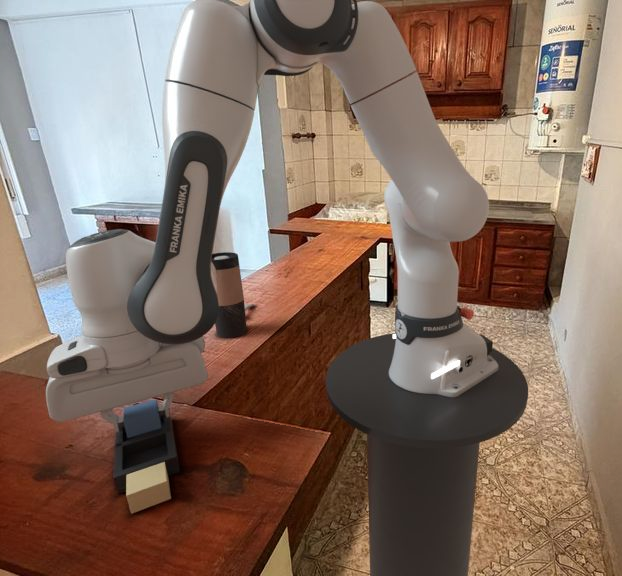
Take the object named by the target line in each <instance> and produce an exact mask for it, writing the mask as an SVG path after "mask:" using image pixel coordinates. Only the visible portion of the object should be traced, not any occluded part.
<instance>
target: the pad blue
mask: <svg viewBox="0 0 622 576" xmlns="http://www.w3.org/2000/svg"><path fill="white" fill-rule="evenodd" d="M158 405H159V404H158V400H157V399H156V398H155V399H152V400H151V399H150V400H148V401H145V402H141V403H137V404H133V405H130V406H126V407H125V406H124V407H123V415H124V426H125V430H126V434H127V437H128V438H130V437H133V436H137V435H140V434H143V433H146V432H150V431H153V430H156V429H160V428H161V420H160V417H159V413H158Z"/></svg>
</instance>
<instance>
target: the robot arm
mask: <svg viewBox="0 0 622 576" xmlns="http://www.w3.org/2000/svg"><path fill="white" fill-rule="evenodd" d="M352 1H353V3H352ZM177 24H178V25H177V28H176V31H175V34H174V36H173V40H172V44H171V48H170V51H169V56H168V59H167V65H166V71H165V78H164V84H163V92H162V103H161V104H162V105H161V126H162V127H161V128H162V144H163V156H164V189H163V195H162V202H161V208H160V213H159V220H158V227H157V232H156V238H155V241H152V240H150V239H147V238H144V237H142V236H139V235H137V234H136V233H134V232H133V231H131V230H128V229H124V228H123V229H122V228H117V229H110V230H104V231H101V232H95V233H92V234H90V235H87V236H83V237H81V238H79V239H77V240H76V241H75V242H73V243H72V244H71V245H69V247H68V248H67V250H66V253H65V267H66V274H67V279H68V285H69V289H70V294H71V297H72V302H73V304H74V306H75V308H76V309H77V310H78V312H79V314H80V317H81V335H79V336H77V337H75V338H73V339H70V340H68V341H66V342H63V343H61V344H60V345H57V346H56V347H55V348H54V349H53V350H52V351H51V353H50V355H49V357H48V359H47V362H46V372H47V374H48V376H49V378H48V381H47V384H46V388H45V400H46V406H47V410H48V411H47V412H48V415H49V418H50V419H51V420H53V421H55V422H57V423H65V422H69V421H73V420H76V419H80V418H84V417H87V416H90V415H94V414H95V415H96V414H100V417H101V419H103V420H104V421H106V422H108V423H109V424H110V425H112V426H113V428H114V432H115V433H117V432H120V431H124V430H125V426H124V414H122V415H118V414H117V413H116V412H114V409H117V408H120V407H125V406H127V405H132V404H135V403H139V402H143V401H146V400H151V399H154V398H157V397H161V396H163V402H162V403H161V404H158V413H159V417H160V419H164V418H167V417H170V414H171V412H170V413H169V410H170V407H171V405H172V403H173V401H174V399H175V395H174V393H176V392H179V391H183V390H187V389H190V388H194V387H198V386H202V385H204V384H205V383H206V381H207V380H208V378H209V374H208V370H207V366H206V362H205V360H204V357H203V354H202V353H204V350H205V347H206V345H205V338H204V336H205V335H207V333H209V332H210V331H211V330H212V329H213V327H214V326H215V322H216V320H217V317H218V313H219V303H218V296H217V271H216V268H215V266H214V264H213V263H212V261H211V258H212V254H213V253H214V252H213V251H214V245H215V239H216V232H217V227H218V221H219V215H220V209H221V205H222V201H223V197H224V194H225V192H226V189H227V186H228V184H229V182H230V180H231V178H232V176H233V174H234V173H235V171H236V168H237V166H238V165H239V162H240V160H241V157H242V156H243V154H244V151H245V148H246V146H247V144H248V139H249V136H250V133H251V131H252V126H253V121H254V117H255V111H256V107H257V98H258V93H259V89H260V85H261V82H262V79H263V77H264V76H279V77H295V76H296V77H297V76H301V75H303V74H305V73H308V72H309V71H310V70H312V69H313V67H314V66H317V65H318V64H319V63H320V64H321V65H323V66H325V67H326V68H327V69H329V70H330V71H331V72H332V73H333V74H334V76H335V77H336V78H337V80H338V81H339V83H341V86H342V89H343V91H344V94H345V96H346V98H347V101H348V103H349V105H350V107H351V110H352V112H353V115H354V116H355V118H356V120H357V123H358V126H359V127H360V129H361V132H362V134H363V136H364V138H365V140H366V142H367V145H368V146H369V149H370V152H371V153H372V155H373V156H374V158H375V159H376V160H377V161H378V162H379V163H380V164H381V166H382V168H383V169H384V170H385V172H386V173H387V175H388V176H389V177H390V180H389V182H388V183H387V185H386V186H385V190H384V193H383V200H384V201H383V202H384V206H385V208H386V211H387V213H388V217H389V223H390V229H391V236H392V243H393V247H394V254H395V260H396V269H397V304H396V306H395V307H394V331H395V332H394V333H396V334H393V339H395V338H396V342H395V349H394V354H393V359H392V363H391V366H390V369H389V377H390V379H391V380H392V381H393V382H394V383H395V384H396V385H398V386H399V387H401V388H403V389H406V390H409V391H412V392H416V393H424V394H439V395H443V396H447V397H457V396H459V395H460V394H462V393H464V392H465V391H467V390H468V389H470V388H471V387H473V386H475V385H476V384H478V383H479V382H481V381H482V380H484V379H485V378H487V377H489V376H490V375H492V374H493V373H495V372H496V371H498V364H497V362H496V361H495V360H494V359H493V358H492V357H491V356H490V355H489V353H490V352H492V348H493V346H494V341H493V340H491V339H489V338H488V337H486V336H485V335H483V334H482V333H478V332H477V331H475V330H474V329H472V328H471V327H469V326H468V325H467V324H465V322H463V318H465V319H466V320H468V321H470V320H472V319H473V317H474V315H475V311H474V310H473V309H471V308H468V307H467V306H464V307H462V308H461V306H460V305H458V296H459V294H458V293H459V275H460V270H459V269H460V268H459V265H458V263H457V261H456V259H455V256H454V253H453V251H452V247H451V243H455V242H465V241H467V240H470V239H472V238H473V237H475V236H476V235H477V234H479V232H480V231H481V230H482V229H483V228H484V226H485V224H486V221H487V219H488V216H489V211H490V202H489V196H488V193H487V191H486V189H485V188H484V187H483V185H482V184H481V183H480V182H479V181H477V179H475V178H474V177H473V176H472V175H471V174H470V172H469V171H468V170H467V169H466V167H465V166H464V165H463V163H462V161H461V160H460V158H459V157H458V155H457V154H456V152H455V150H454V149H453V148H452V146H451V144H450V142H449V141H448V139H447V138H446V136H445V134H444V133H443V131H442V130H441V127H440V125H439V124H438V122H437V119H436V117H435V114H434V112H433V110H432V107H431V105H430V101H429V99H428V96H427V94H426V92H425V89H424V86H423V83H422V81H421V78H420V75H419V73H418V71H417V68H416V65H415V63H414V60H413V57H412V55H411V53H410V50H409V48H408V46H407V44H406V42H405V40H404V38H403V36H402V34H401V33H400V30H399V29H398V27H397V25H396V23H395V22H394V20H393V18H392V16H391V14H389V11H388V10H387V9H386V8H385V6H383V5H382V4H381V3H379V2H377V1H372V0H363V1H357V0H249V2H248V3H245V4H244V5H240V6H236V5H230V4H229V3H226V2H224V1H221V0H194V1H192V2H190V3H189V4H188V5H187V6H186V7H185V8H184V10H183V11H182V14H181V16H180V20H179V22H178V23H177Z"/></svg>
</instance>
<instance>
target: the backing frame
mask: <svg viewBox="0 0 622 576" xmlns="http://www.w3.org/2000/svg"><path fill="white" fill-rule="evenodd" d="M169 413H170V417H167V418H164V419H160V420H161V428H160V429H156V430H153V431H150V432H146V433H143V434H140V435H137V436H133V437H130V438H128V437H127V434H126V430H124V431H120V432H117V433H116V432H115V436H114V455H113V456H114V458H113V482H114V485H115V489H116V492H117V495H120V494H123V493H126V475H127V474H130V473H133V472H136V471H139V470H142V469H145V468H148V467H151V466H154V465H157V464H159V463H162V462H165V465H166V470H167V474H168V477H170V476H173V475H175V474H179V473H180V472H181V470H180V462H179V458H178V456H179V455H178V451H177V445H176V444H177V443H176V439H175V432H174V426H173V420H172V415H171V410H170V409H169Z"/></svg>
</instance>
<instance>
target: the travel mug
mask: <svg viewBox="0 0 622 576" xmlns="http://www.w3.org/2000/svg"><path fill="white" fill-rule="evenodd" d="M211 261H212V263H213V264H214V266H215V268H216V271H217V296H218V303H219V313H218V317H217V320H216V322H215V324H214V326H215V331H216V335H217V337H219V338H222V339H232V338H237V337H241V336H243V335H244V334H246V333H247V330H248V329H247V318H246V317H247V316H245V314H246V311H245V306H246V304H245V296H244V288H243V282H242V273H241V267H240V259H239V254H238V253H236V252H228V251H226V252H225V251H224V252H223V251H222V252H216V253H215V252H213V253H212V258H211Z"/></svg>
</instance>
